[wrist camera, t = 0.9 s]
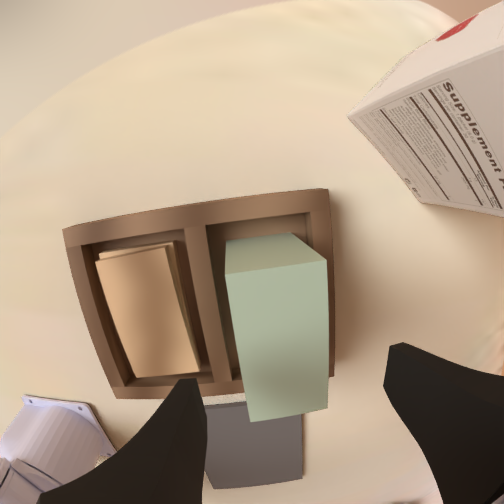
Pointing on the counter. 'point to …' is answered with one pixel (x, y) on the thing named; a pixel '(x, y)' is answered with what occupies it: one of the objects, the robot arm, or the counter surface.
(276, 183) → the counter surface
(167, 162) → the counter surface
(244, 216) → the walnut rack
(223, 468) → the charcoal mat
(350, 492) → the counter surface
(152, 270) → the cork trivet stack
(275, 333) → the pale green rectangular block
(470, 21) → the supplement box
